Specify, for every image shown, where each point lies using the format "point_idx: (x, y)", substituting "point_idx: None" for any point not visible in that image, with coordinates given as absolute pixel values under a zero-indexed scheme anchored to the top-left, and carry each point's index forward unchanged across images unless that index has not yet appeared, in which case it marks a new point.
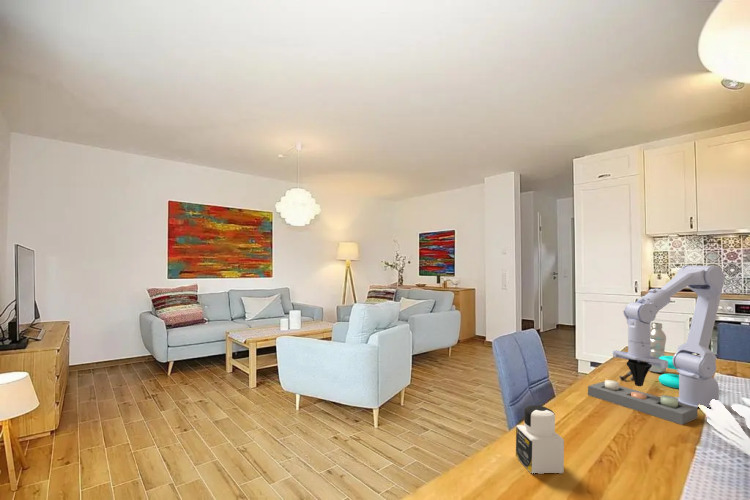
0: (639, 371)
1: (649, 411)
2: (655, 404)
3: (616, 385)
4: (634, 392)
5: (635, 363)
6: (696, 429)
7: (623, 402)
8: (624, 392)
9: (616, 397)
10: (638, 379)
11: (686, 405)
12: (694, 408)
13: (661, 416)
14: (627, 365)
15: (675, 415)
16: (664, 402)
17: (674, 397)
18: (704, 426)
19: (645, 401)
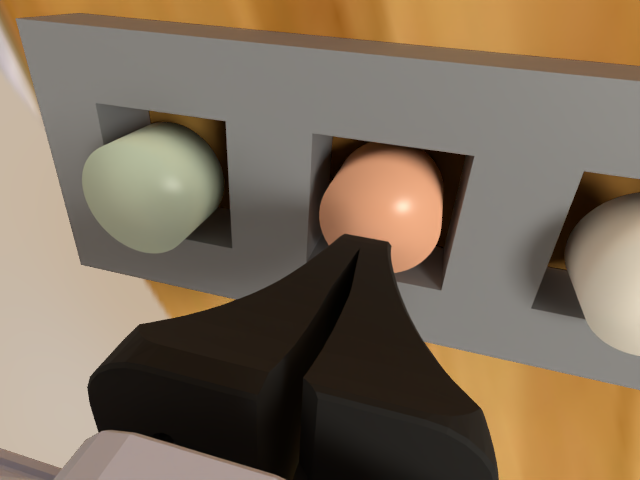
0: (264, 313)
1: (261, 34)
2: (208, 82)
3: (599, 251)
4: (421, 247)
5: (310, 470)
6: (15, 10)
7: (474, 54)
8: (503, 215)
9: (551, 67)
10: (328, 261)
11: (118, 251)
12: (72, 228)
13: (186, 25)
14: (468, 396)
15: (77, 21)
16: (158, 136)
17: (123, 238)
18: (39, 117)
19: (286, 95)
